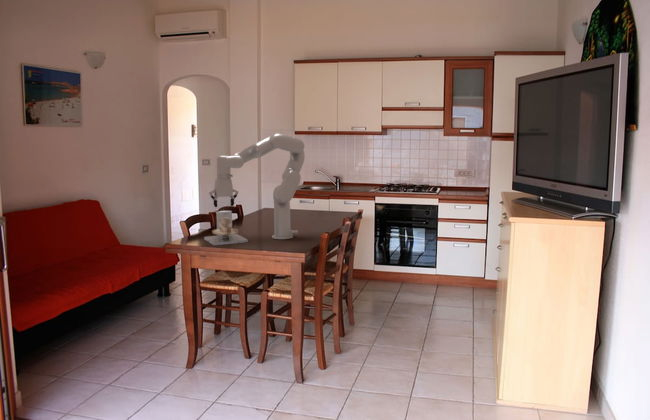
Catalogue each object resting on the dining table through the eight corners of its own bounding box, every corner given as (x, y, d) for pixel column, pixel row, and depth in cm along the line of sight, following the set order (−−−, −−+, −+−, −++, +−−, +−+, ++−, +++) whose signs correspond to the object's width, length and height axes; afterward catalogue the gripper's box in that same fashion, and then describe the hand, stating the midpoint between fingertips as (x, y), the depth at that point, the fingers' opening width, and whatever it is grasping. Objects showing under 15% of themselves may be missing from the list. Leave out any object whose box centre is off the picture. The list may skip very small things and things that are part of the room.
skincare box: (224, 236, 340) (223, 212, 338) (216, 235, 343) (215, 211, 341) (232, 234, 347) (232, 210, 345) (225, 233, 350) (224, 209, 348)
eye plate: (236, 236, 340) (236, 233, 340) (247, 242, 323) (247, 239, 323) (204, 239, 331) (204, 236, 331) (213, 245, 314) (213, 242, 314)
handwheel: (233, 234, 337) (233, 216, 335) (242, 238, 324) (241, 219, 322) (209, 236, 330) (208, 217, 328) (216, 241, 317) (216, 221, 315)
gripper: (236, 176, 329) (236, 204, 331) (207, 176, 321) (207, 206, 323) (240, 177, 322) (240, 206, 325) (210, 177, 314) (211, 208, 317)
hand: (224, 206), depth 324 cm, fingers open, 9 cm apart
